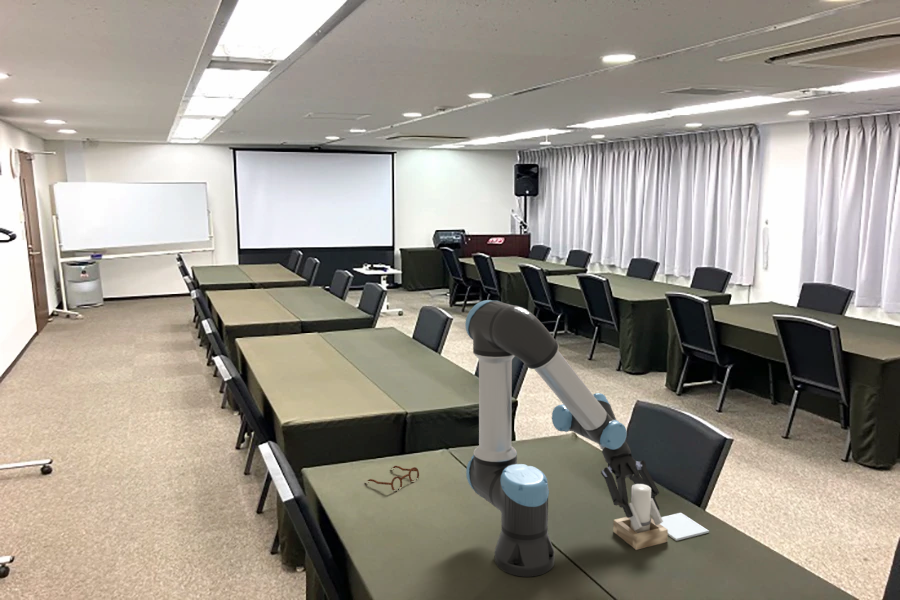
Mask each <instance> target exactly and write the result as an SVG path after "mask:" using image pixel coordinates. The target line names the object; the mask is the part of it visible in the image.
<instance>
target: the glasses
mask: <svg viewBox="0 0 900 600" xmlns="http://www.w3.org/2000/svg"><path fill="white" fill-rule="evenodd" d="M392 468H395V469H399V470H401V471H405V472H408V473H407V474H405V475H402V476H398V475H397V476H394V477H393V478H392V479H391V481H390V482H385V481H377V480H376V479H373V478H369V479H368V480H367V481H370V482H372V483H373V482H374V483H375V484H378V485H388V486H390V487H391V490H392V491H393V490H396V489H395V487H394V481H395V480H396V479H398V480H399V485H400V486H399V487H402V486H403V479H405V478H407V477H408V478H409V482H411V481H414V480H413V479H412V475H411V473H412V472H416V478H418V479H419V478H420V471H419V469H418V468H417V467H416V466H414V467H412V468H404V467H401V466H400V465H399V466H398V465H394V466H392Z"/></svg>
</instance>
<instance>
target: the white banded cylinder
mask: <svg viewBox="0 0 900 600" xmlns="http://www.w3.org/2000/svg"><path fill="white" fill-rule="evenodd" d="M630 501H631V502H630V503H632V505H633V507H634V509H635V512H636V514H637V516H638V518H639V521H640V523H641V525H642V527H641V528H640V529H638V530H636V531H635V530H634V527H633V525H632V523H631V527H630V528H631V529H632V530H634V531H635V532H636V533H641V532H646V531H650V523H651V518H652V517H651V513H650V509H651V488H650V487H649V486H647V485H644V484H635V483H634V484H632V485H631V499H630ZM630 521H631V520H630Z"/></svg>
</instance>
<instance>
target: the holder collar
mask: <svg viewBox="0 0 900 600" xmlns="http://www.w3.org/2000/svg"><path fill="white" fill-rule="evenodd" d="M650 518H651V523H650V531H646V532H641V533H636V532H635V531H634V530H632V529H631V528H630V527H631V521H630V518H627V516H625V517H624V516H623V517H620V518H619V517H618V518H616V519H613V524H612V525H613V526H612V527H613V530H612V531H613V533H614V534H615V535H617V536H618V537H619V538H621V539H622V540H623V541H624V542H626V543H627V544H628V545H629V546H631V547H632V548H633V549H635V550H636V551H637V550H640V549H641V550H642V549H644V548H649V547H653V546H657V545H662V544H665V543H667V542H668V538H669V535H668V529H666V528H665V527H663V526H662V525H660V524H659V525H655V522H654V520H653V518H652V517H650Z"/></svg>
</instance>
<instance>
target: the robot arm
mask: <svg viewBox="0 0 900 600" xmlns="http://www.w3.org/2000/svg"><path fill="white" fill-rule="evenodd" d="M464 327H465V331H466V334H467V335H468V337H469V338H470V339H471V340H472V350H473V351H472V353H473V355H474V356H475V357H476V358H477V359H478V407H479V408H478V431H479V432H478V444H479V445H478V446H477V447H475V449H474V450H473V455H472V456H471V458H470V460H469V461H468V463H467V465H466V468H465V469H466V470H465V471H466V472H465V473H466V480H467V482H468V485H469V486H470V487H471V489H472V490H473V491H474V492H475V494H476V495H479V497H480V498H483V499H484V500H486V501H487V502H489V504H491V505H492V506H494V507H495V508H496V509H497V510H498V511H500V513H501V518H500V519H501V521H500V523H501V524H500V525H501V531H500V534H499V537H498V540H497V543H496V545H495V548H494V562H495V564H496V566H497V567H498V568H499V569H500V570H502V571H503V572H505V573H507V574H509V575H512V576H517V577H526V578H528V577H529V578H530V577H538V576H540V575H544V574H546V573H548V572H549V571H550V570H552V569H553V568H554V565H555V551H554V550H555V549H554V547H553V544H552V541H551V538H550V535H549V532H548V531H549V530H548V527H549V525H548V524H549V494H550V493H549V492H550V490H549V485H548V478H547V476H546V475H545V473H544V472H543V471H542V470H541V469H539V468H537V467H535V466H532V465H527V464H526V463H525V464H523V463H518V452H517V450H516V448H515V447H513V446H512V399H513V398H512V394H513V393H512V391H513V390H512V382H513V381H512V379H513V377H512V375H513V374H512V372H513V371H512V369H513V368H512V367H513V366H512V365H513V364H512V363H513V359H514V358H515V357H516V358H518V359H519V360H520V361H521V362H522V363H523V364H524V365H525V366H526V367H527V368H528V369H529V370H534V371H535V372H536V373H537V374H538V375H539V377H540V378H541V379H542V381H544V383H545V384H546V385H547V387H548V388H549V389H550V390H551V391H552V392H553V393H554V395H555V396H556V397H557V398H558V400H560V402H561V404H558V405H556V406H554V408H553V410H552V412H551V422H552V425H553V426H554V428H555V429H556V430H557V431H558V432H565V433H567V432H573V433H574V434H577V435H579V436H581V437H583V438H585V439H587V440H590V441H591V442H594V443H595V444H597V445H598V446H599V448H600V450H601V453H602V456H603V458H604V460H605V462H606V463H607V467H604V468H603V469H602V470H601V471H600V474H601V476H602V477H603V478H604V480H605V483H606V485H607V486H606V487H607V489H608V491H609V495H610V497H611V500H612V503H613V505H615V506H618V507H619V508H621V509H623V512H624V515H625V517H627V518H630V520H631V523H632V525H633V527H634V530H635V531H636V530H638V529H640V528H641V527H642V525H641V523H640V521H639V518H638V516H637V514H636V512H635V509H634V507H633V505H632V503H631V502H629V497H628V491H627V484H626V478H628V479H630V481H631V482H632V483H634V485H635V484H644V485H647V486H649V487H650V488H651V509H650V517H651V518H652V519H653V520H654V522H655V525H659V524H661V523H662V522H663V520H662V518H661V517H662V516H661V513H660V511H659V510H660V507H659V504H658V502H657V500H656V497H657V496H658V495H659V494H660V491H659V489H658V487H657V486H656V484H655V482H654V480H653V477H652V476H651V474H650V472H649V469H648V468H647V464H646V461H645V460H641V461H637V460H636V459H635V458H634V457H633V456H632V450H631V447H629V444H628V442H627V441H626V439H627V435H628V434H627V428H626V425H624V424H623V423H622V422H620V421H619V420H617V417H616V415H615V413H614V411H613V409H612V406H611V403H610V402H609V401H608V398H607V397H606V395H605V394H603V393H601V392H600V393H599V392H595V393H594V394H593V393H592V391H591V390H590V389H589V387H587V385H586V384H585V382H584V381H583V380H582V379H581V377H579V375H578V374H577V372H576V371H575V370H574V368H573V367H572V366H571V365H570V364H569V362H568V361H567V360H566V358H565V357H564V355H563V354H562V353H561V352H560V351H559V347H560V346H559V343H558V342H557V340H556V339H555V338H554V336H553V335H552V333H550V331H549V330H548V329H547V327H545V325H544V324H543V323H542V322H541V321H540V320H539V319H538V318H537V317H536V316H535V315H534V314H533V313H532V312H531V311H529V310H528V309H526V308H524V307H522V306H519V305H513V304H509V303H505V302H502V301H500V300H491V299H487V300H482V301H479V302H477V303H476V304H475V305H473V306H472V308H471V309H470V310H469V311H468V313H467V316H466V318H465V326H464ZM613 474H614V475H613ZM614 477H615V478H614Z"/></svg>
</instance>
